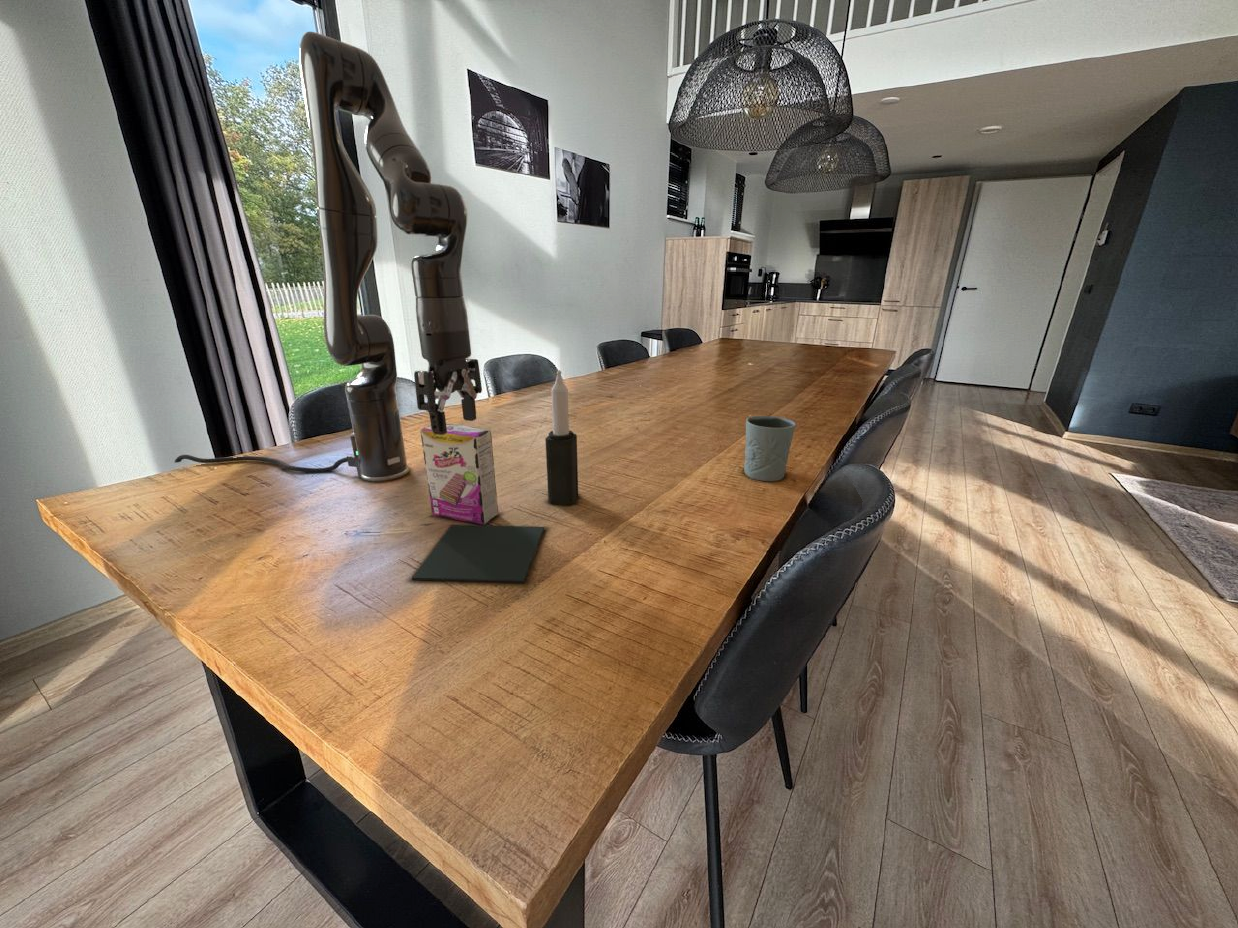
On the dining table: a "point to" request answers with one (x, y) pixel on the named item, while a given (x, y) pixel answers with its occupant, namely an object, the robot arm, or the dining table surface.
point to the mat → (482, 554)
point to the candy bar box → (461, 473)
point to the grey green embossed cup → (767, 447)
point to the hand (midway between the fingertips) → (455, 426)
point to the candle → (561, 450)
